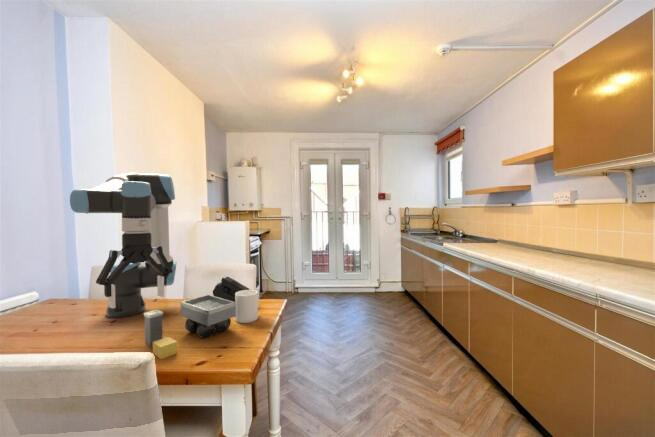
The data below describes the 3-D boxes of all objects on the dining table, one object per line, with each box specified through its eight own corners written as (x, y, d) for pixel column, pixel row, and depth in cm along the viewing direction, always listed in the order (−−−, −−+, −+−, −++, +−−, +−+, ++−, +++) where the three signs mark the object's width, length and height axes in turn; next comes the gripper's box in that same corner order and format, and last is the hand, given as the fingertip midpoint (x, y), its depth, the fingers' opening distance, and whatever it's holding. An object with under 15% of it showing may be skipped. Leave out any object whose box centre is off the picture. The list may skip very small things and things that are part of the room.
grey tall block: (144, 343, 103) (143, 312, 102) (157, 339, 106) (156, 309, 106) (150, 346, 100) (149, 315, 100) (163, 342, 104) (162, 311, 103)
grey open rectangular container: (179, 331, 113) (179, 302, 113) (209, 321, 124) (209, 294, 123) (206, 343, 103) (206, 311, 102) (236, 330, 113) (236, 301, 113)
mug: (231, 322, 122) (230, 295, 122) (244, 312, 134) (244, 287, 133) (251, 324, 120) (251, 296, 120) (263, 314, 132) (263, 288, 132)
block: (152, 354, 95) (152, 342, 95) (168, 348, 99) (168, 336, 99) (161, 359, 92) (160, 347, 92) (177, 353, 96) (176, 341, 96)
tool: (209, 299, 145) (224, 273, 145) (243, 317, 146) (258, 291, 146) (205, 303, 138) (221, 276, 139) (240, 321, 140) (256, 295, 140)
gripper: (91, 235, 76) (92, 315, 76) (183, 230, 97) (184, 293, 97) (81, 234, 80) (82, 310, 80) (171, 230, 101) (172, 290, 101)
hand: (137, 301), depth 89 cm, fingers open, 13 cm apart
